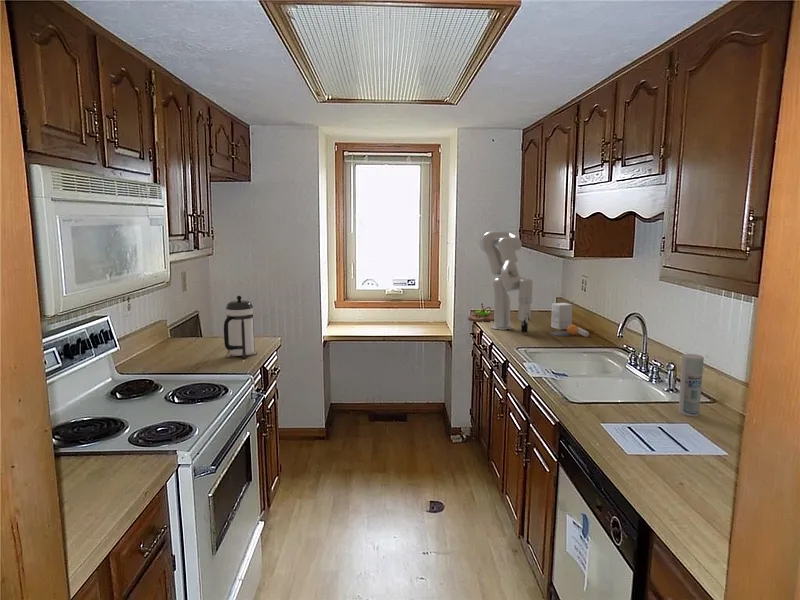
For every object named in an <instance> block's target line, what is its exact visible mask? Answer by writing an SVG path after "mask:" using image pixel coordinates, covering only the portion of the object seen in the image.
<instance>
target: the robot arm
mask: <svg viewBox="0 0 800 600" xmlns="http://www.w3.org/2000/svg"><path fill="white" fill-rule="evenodd" d="M481 242H482V248H483V250H484V252H485V254H486V256H487V259H488V264H489V266H490V271H491V273H492V274H493V275H494V276H496V277H495V278H494V279H493V282H492V287H493V297H494V299H493V301H494V302H493V303H494V304H493V305H494V307H493V308H494V309H493V315H494V322H493V324H492V325H491V329H493V330H497V329H499V331H505V330H507V329H509V330H512V329H513V325H511V298H510V295H509V292H510V293H512V292H513V293H514V292H518V300H517V301H518V311H517V318H518V319H519V320H520V321H521V325H520V329H521V330H520V331H521V333H528V326H529V325H528V324H529V322H530V321H531V315H532V314H531V313H532V311H531V310H532V308H531V306H532V305H531V304H533V280H532V279H531V278H526V277H523V276H521V275H520V274H519V273H520V272H519V269H518V266H517V263H518V256H517V253H516V252H517V251H520V250H521V249H522V240H521V239H520V237H519V236H517V235H516V234H513V233H511V232H510V231H506V230H504V231H503V230H497V231H496V230H492V231H487V232H485V233H484V234H483V236H482V240H481ZM496 246H498V247H496ZM497 276H498V277H497Z"/></svg>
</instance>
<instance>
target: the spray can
mask: <svg viewBox="0 0 800 600" xmlns="http://www.w3.org/2000/svg"><path fill="white" fill-rule="evenodd" d="M703 372H704V356H703V355H699V354H694V353H684V354H682V355H681V367H680V384H679V385H680V386H679V399H678V400H679V401H678V413H679V414H680V415H682V416H686V417H698V416H699V415H700V412H701V411H700V409H701V396H702V384H703V383H702V381H703Z"/></svg>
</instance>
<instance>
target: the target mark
mask: <svg viewBox="0 0 800 600" xmlns="http://www.w3.org/2000/svg"><path fill="white" fill-rule="evenodd" d="M551 334H552V335H551ZM550 335H551V336H554V337H572V336H574V335H570V334H569V333H568V332H567V331H552V332H550Z"/></svg>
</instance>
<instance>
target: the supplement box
mask: <svg viewBox="0 0 800 600" xmlns="http://www.w3.org/2000/svg"><path fill="white" fill-rule="evenodd" d="M550 320H551V321H550V322H551V323H550V325H551V328H553V329H556V330H567V328H568V326H570V325H573V304H571V303H567V302H557V303H553V302H552V303H551V319H550Z"/></svg>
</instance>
